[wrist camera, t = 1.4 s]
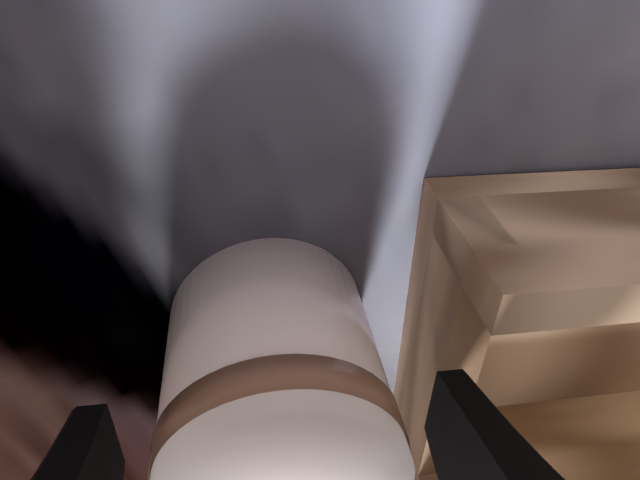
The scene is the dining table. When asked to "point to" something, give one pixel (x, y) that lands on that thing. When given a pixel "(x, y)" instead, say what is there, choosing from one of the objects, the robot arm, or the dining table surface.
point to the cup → (274, 374)
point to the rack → (531, 312)
